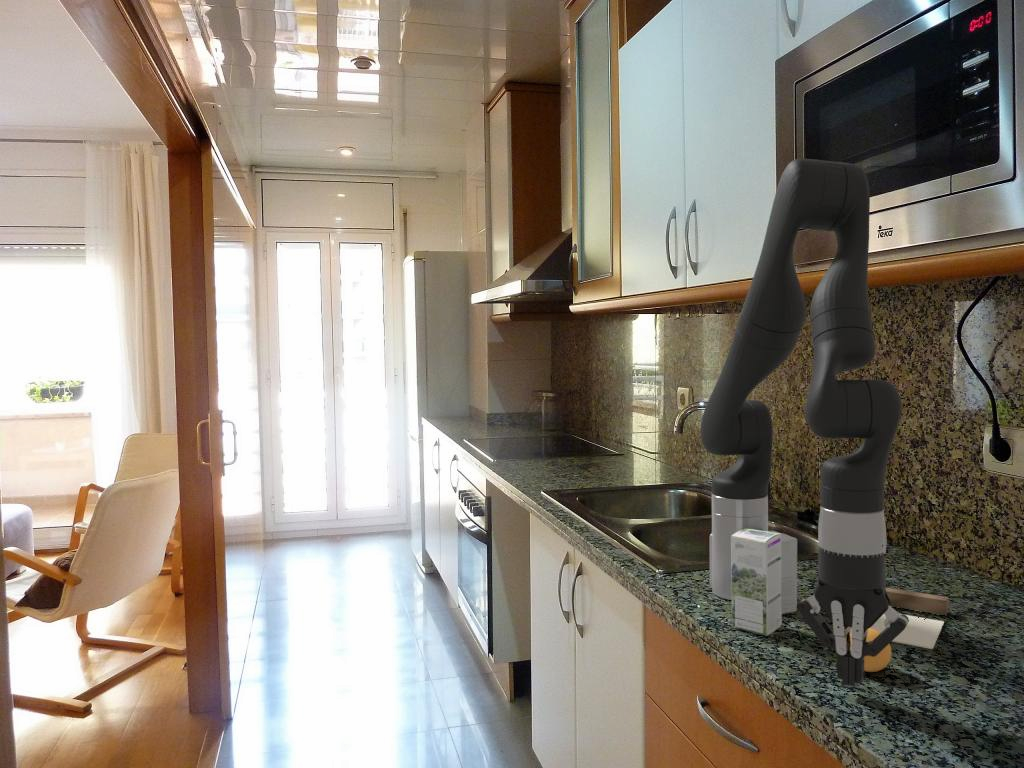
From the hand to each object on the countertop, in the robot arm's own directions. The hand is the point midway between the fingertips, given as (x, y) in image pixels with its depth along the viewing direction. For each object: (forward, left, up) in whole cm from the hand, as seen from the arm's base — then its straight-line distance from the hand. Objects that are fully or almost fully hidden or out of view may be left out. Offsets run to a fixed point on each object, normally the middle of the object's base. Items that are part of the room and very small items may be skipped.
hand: (850, 683), depth 95 cm
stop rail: (-21, +30, -1) cm, 37 cm away
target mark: (-15, +22, -1) cm, 27 cm away
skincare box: (-29, +11, -2) cm, 31 cm away
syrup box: (-23, +3, -2) cm, 23 cm away
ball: (-5, +7, +1) cm, 9 cm away
